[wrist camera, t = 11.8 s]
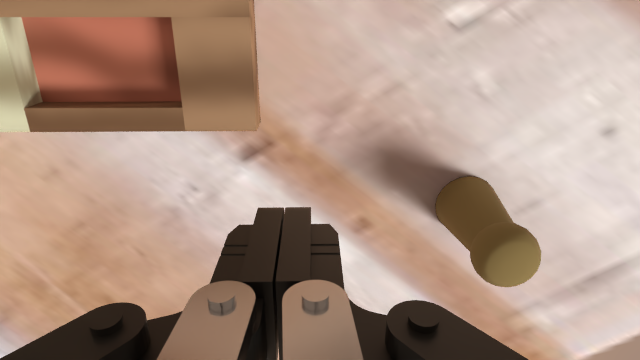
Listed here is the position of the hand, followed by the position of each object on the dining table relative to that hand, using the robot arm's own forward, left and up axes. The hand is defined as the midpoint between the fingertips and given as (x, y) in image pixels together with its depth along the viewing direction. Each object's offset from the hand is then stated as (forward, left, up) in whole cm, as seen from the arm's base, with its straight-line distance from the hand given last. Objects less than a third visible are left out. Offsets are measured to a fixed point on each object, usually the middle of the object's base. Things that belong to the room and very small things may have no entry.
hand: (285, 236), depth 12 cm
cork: (+12, +16, -27) cm, 34 cm away
